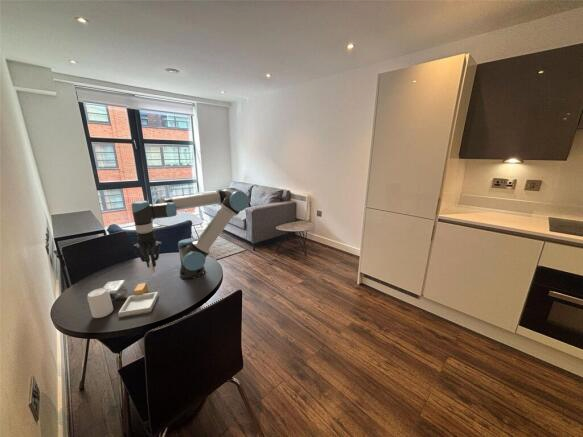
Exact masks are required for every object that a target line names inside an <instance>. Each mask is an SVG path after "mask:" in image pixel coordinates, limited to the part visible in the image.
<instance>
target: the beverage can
mask: <svg viewBox="0 0 583 437" xmlns="http://www.w3.org/2000/svg"><path fill="white" fill-rule="evenodd" d="M86 298H87V302H88V306H89V309H90V313H91V316H92V317H93V318H94V319H99V318H104V317H107V316H108V315H110V314H111V313H113V311H114V306H113V302H112V301H113V300H112V299H111V297H110V294H109V291H108V290H107V289H106V288H103V287H100V288H96V289H93V290H91V291H90V292H89V293H88V294H87V297H86Z"/></svg>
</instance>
